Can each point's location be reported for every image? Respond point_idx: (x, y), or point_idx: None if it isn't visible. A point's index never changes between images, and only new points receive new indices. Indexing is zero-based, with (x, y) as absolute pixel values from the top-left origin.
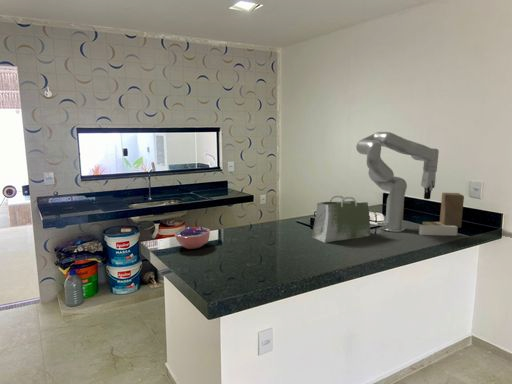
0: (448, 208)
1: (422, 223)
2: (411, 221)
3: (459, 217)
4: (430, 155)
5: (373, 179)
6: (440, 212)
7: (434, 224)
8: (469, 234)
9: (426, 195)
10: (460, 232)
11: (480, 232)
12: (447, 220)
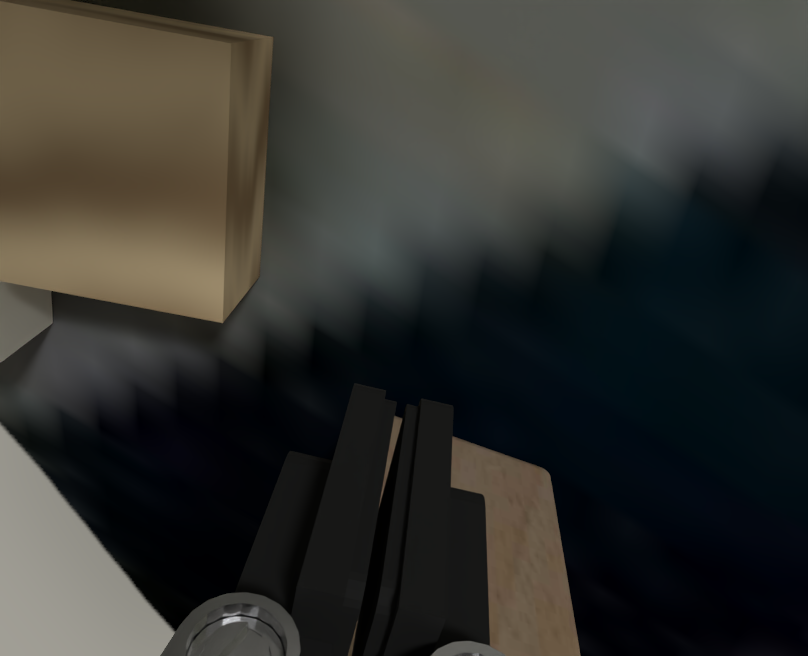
0: None
1: (233, 40)
2: (770, 166)
3: None
4: None
5: None
6: (559, 577)
7: (52, 148)
8: (63, 455)
9: (315, 511)
10: (135, 425)
11: (146, 580)
12: None
